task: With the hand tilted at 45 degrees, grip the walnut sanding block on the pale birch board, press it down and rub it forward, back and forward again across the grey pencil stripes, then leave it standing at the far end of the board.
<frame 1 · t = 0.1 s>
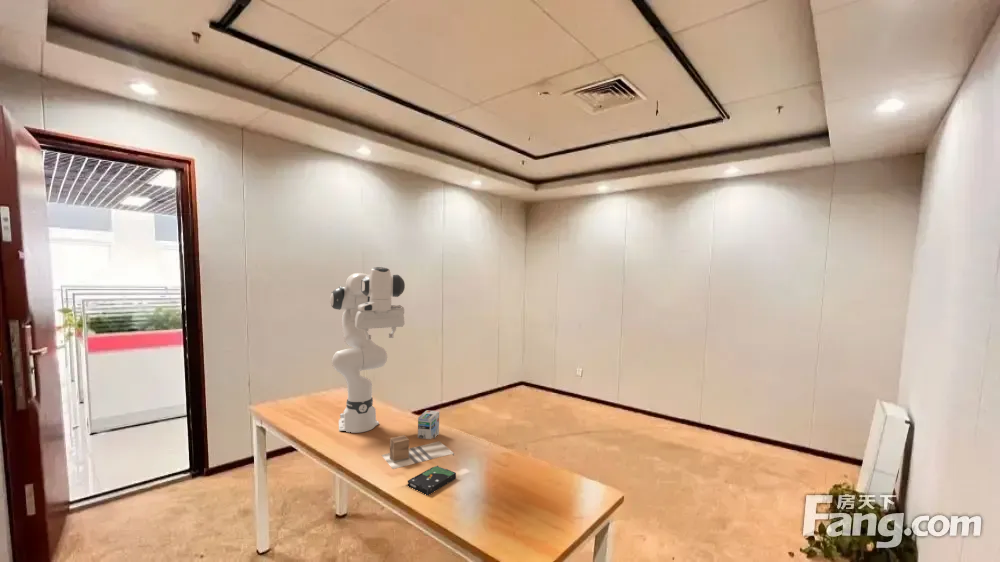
hand: (380, 338, 169), 48 cm above the table, tool pointing down, fingers open, 8 cm apart
disk drive: (432, 484, 146), on the table
light bulb box: (428, 437, 186), on the table
board: (418, 457, 165), on the table
sanding block: (399, 458, 160), point 1 cm above the table, touching board
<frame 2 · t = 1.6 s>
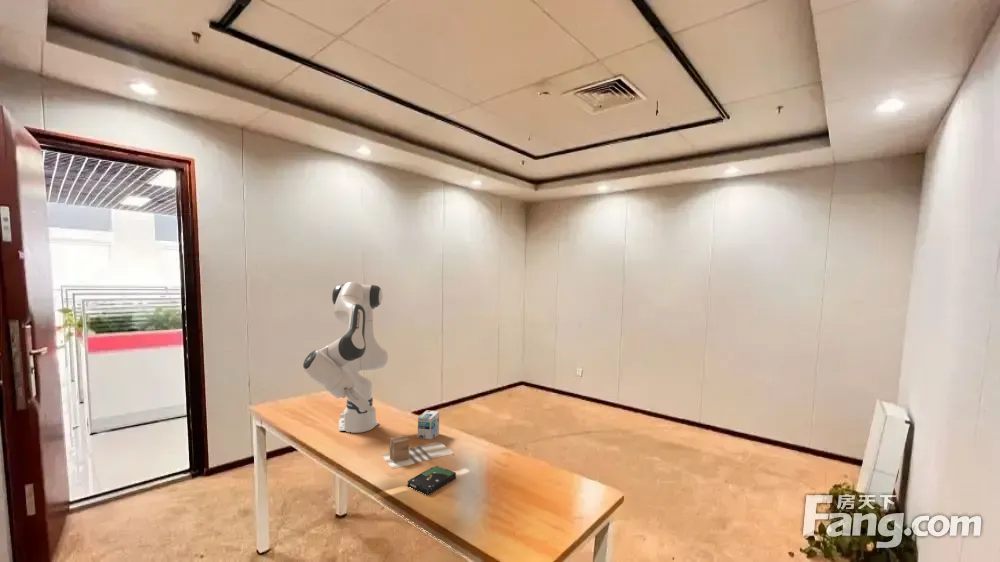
hand: (368, 407, 153), 24 cm above the table, tool tilted 45°, fingers open, 8 cm apart
nothing on the table moved.
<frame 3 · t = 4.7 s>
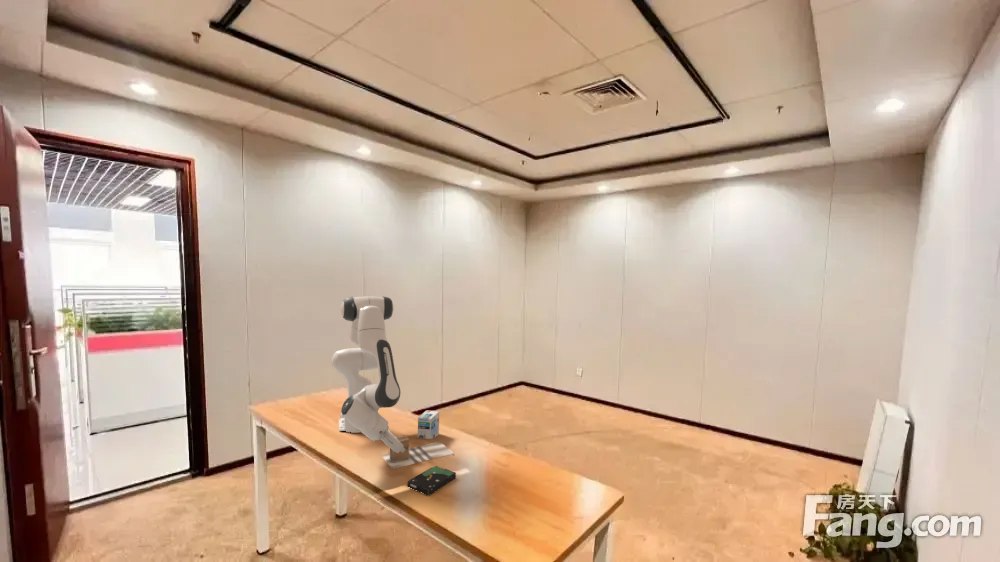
hand: (400, 447, 161), 6 cm above the table, tool tilted 45°, fingers closed on sanding block, 5 cm apart
sanding block: (399, 458, 160), point 2 cm above the table, touching board, gripper
everything else where it was.
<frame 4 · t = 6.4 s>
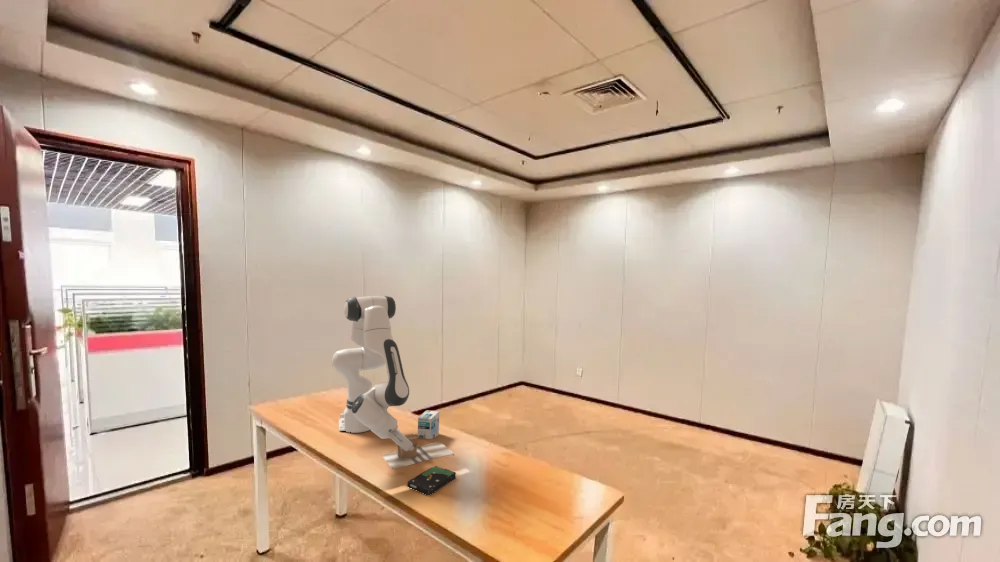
hand: (409, 445, 163), 6 cm above the table, tool tilted 45°, fingers closed on sanding block, 5 cm apart
sanding block: (406, 456, 162), point 2 cm above the table, touching gripper
everything else where it was.
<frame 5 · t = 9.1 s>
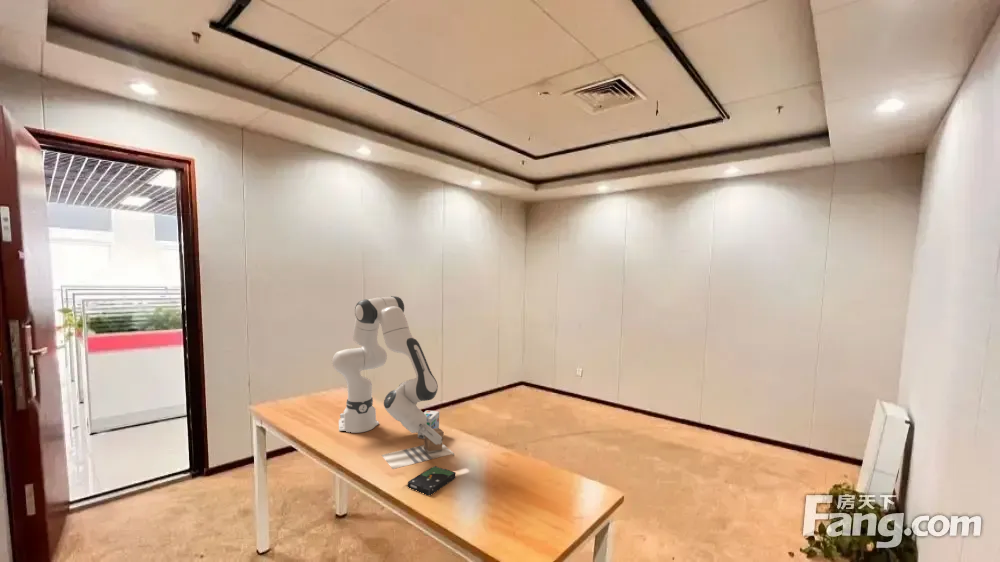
hand: (437, 439, 169), 6 cm above the table, tool tilted 45°, fingers closed on sanding block, 5 cm apart
sanding block: (432, 449, 168), point 2 cm above the table, tilted 6°, touching board, gripper
everything else where it was.
when the fingers open (6 cm above the table, at t = 13.5 s): sanding block stays where it is, resting on board.
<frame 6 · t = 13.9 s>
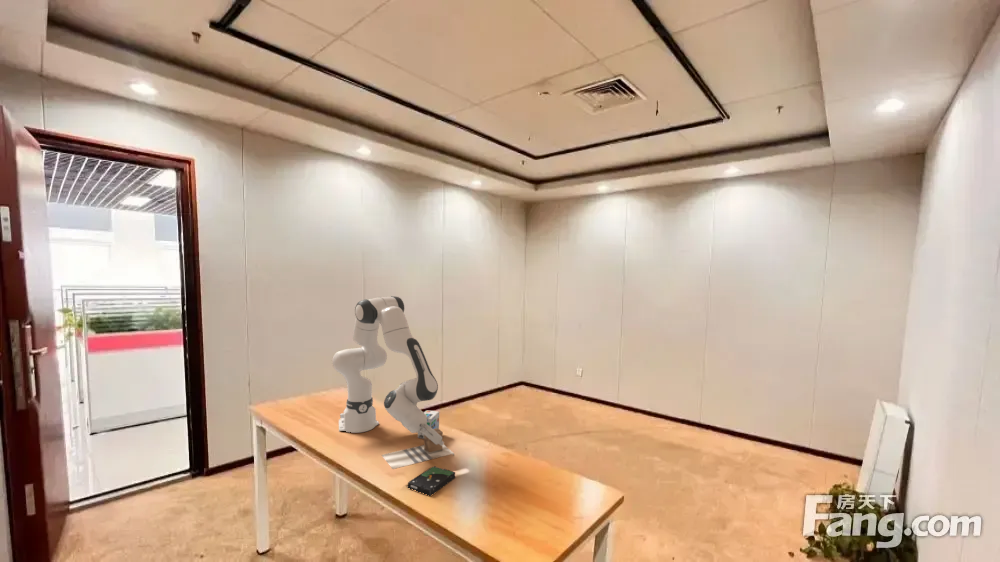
hand: (437, 439, 170), 6 cm above the table, tool tilted 45°, fingers open, 8 cm apart
sanding block: (433, 450, 169), point 1 cm above the table, touching board
everything else where it was.
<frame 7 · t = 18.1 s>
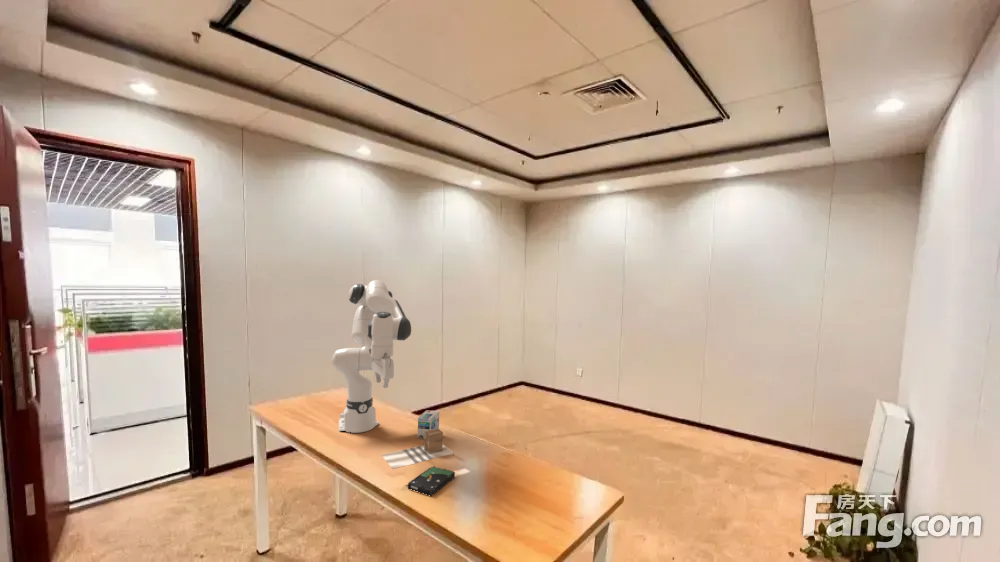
hand: (381, 384, 167), 29 cm above the table, tool pointing down, fingers open, 8 cm apart
nothing on the table moved.
at the end: sanding block inside the target area on the board (1.5 cm from its centre), point 1.5 cm above the board's base; sanding block tilted 0°; the gripper is holding nothing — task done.
